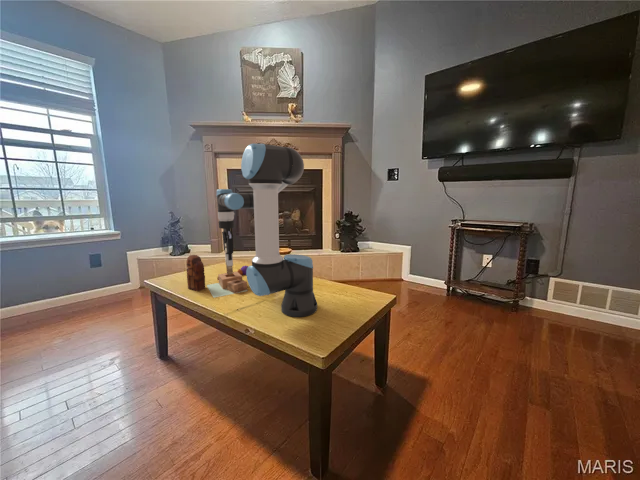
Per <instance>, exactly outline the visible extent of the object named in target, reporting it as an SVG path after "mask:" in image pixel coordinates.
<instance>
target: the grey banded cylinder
mask: <svg viewBox="0 0 640 480" xmlns="http://www.w3.org/2000/svg"><path fill="white" fill-rule="evenodd" d="M226 253H227V247H226V244H225V250H224V255H225V254H226ZM225 266H226V273H227V274H228V275H230V274H233V272H234V271H233V270H234V269H233V268H234V267H233V266H227V254H226V261H225Z"/></svg>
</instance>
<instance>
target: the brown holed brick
mask: <svg viewBox="0 0 640 480" xmlns="http://www.w3.org/2000/svg"><path fill="white" fill-rule="evenodd" d="M227 290H229V291H231V292H233V293H235V294H238V293H237V292H240V293H242V292H241V291H244V290H248V281H246V280H243V279H242V280H241V279H237V280H233V281H229V282H227Z"/></svg>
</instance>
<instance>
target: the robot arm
mask: <svg viewBox="0 0 640 480" xmlns="http://www.w3.org/2000/svg"><path fill="white" fill-rule="evenodd" d="M241 157H242V158H241V162H240V163H241V164H240V166H241V167H240V169H241V173H242V177H243V178H245V180H248V185H249V186H250V188H251V189H252V192H233V190H232V189H231V188H230V189H229V188H227V189H226V188H219V189H216V196H215V197H216V204H217V206H216V207H217V219H218V228H219V229H222V232H221V234H222V243H223V244H222V245H223V251H225V244H226V247H227V253H226V254H227V266H232V267H233V266H234V262H233V261H234V259H233V254H234V235H233V232H232V229H234V228H235V220H234V219H235V215H236V213H235V210H236V211H237V210H244V209H245V210H247V209H249V210H250V209H252V210H253V214H254V215H253V217H254V218H253V220H254V239H255V240H254V241H255V242H254V243H255V255H254V257H253V258H251V265H249V266H248V267H247V270H246V275H245V276H246V280H247V284H248V286H249V288H250V290H251V291H252V293H253V294H254V295H255V296H258V297H262V296H263V297H264V296H270V295H272V294H275V293H280V292H283V291H284V294H283V298H282V301H281V305H280V306H281V307H280V308H281V309H280V310H281V313H283V314H284V315H285V316H288V317H292V318H293V317H294V318H303V317H308V316H311V315H313V314H315V313H317V311H318V302H317V299H316V296H315V293H314V264H313V261H314V260H313V258H311V257H310V256H308V255H303V254H295V253H294V254H293V253H292V254H285V255H284V257H283V256H282V255H281V254H280V232H279V231H280V230H279V227H280V224H279V193H280V192H282V191H283V190H284V189H286V188H287V186H291V185H293V184H295V183H297V182H298V180H300V179H301V177H302V175H303V173H304V172H305V171H304V169H305V162H304V160H303V157H302V155H301V154H300V153H299V152H298V150H296V149H294V148H292V147H288V146H281V145H274V144H267V143H250V144H248V145H247V146H246V147H245V149H244V150H243V153H242V156H241ZM226 254H225V253H224V259H225V262H226Z"/></svg>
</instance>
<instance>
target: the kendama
mask: <svg viewBox="0 0 640 480" xmlns="http://www.w3.org/2000/svg"><path fill="white" fill-rule="evenodd" d="M247 267H249V266H248V265H243V266H241V268H239V269H237V271H236V272H238V273H239V274H240V275H241V276H246V270H247ZM217 281H219V279H218V277H217Z"/></svg>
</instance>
